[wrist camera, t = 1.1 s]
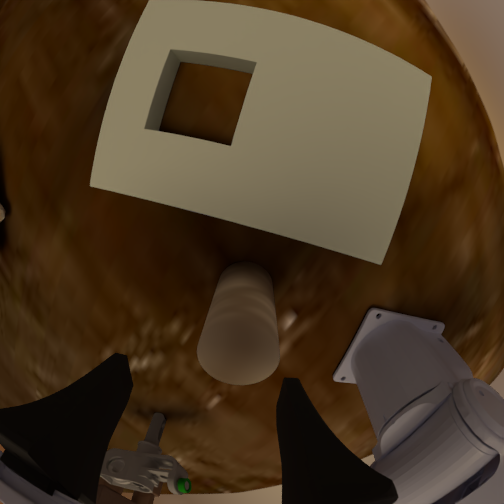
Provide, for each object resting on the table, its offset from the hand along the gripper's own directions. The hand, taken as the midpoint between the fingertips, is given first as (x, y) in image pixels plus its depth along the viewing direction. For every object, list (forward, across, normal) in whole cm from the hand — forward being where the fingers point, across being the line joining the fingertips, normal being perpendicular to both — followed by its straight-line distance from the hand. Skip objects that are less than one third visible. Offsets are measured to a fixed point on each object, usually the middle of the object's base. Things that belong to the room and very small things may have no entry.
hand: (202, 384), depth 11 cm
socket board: (+10, -2, -13) cm, 16 cm away
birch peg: (+10, -2, -1) cm, 10 cm away
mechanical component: (+10, +6, +17) cm, 21 cm away
